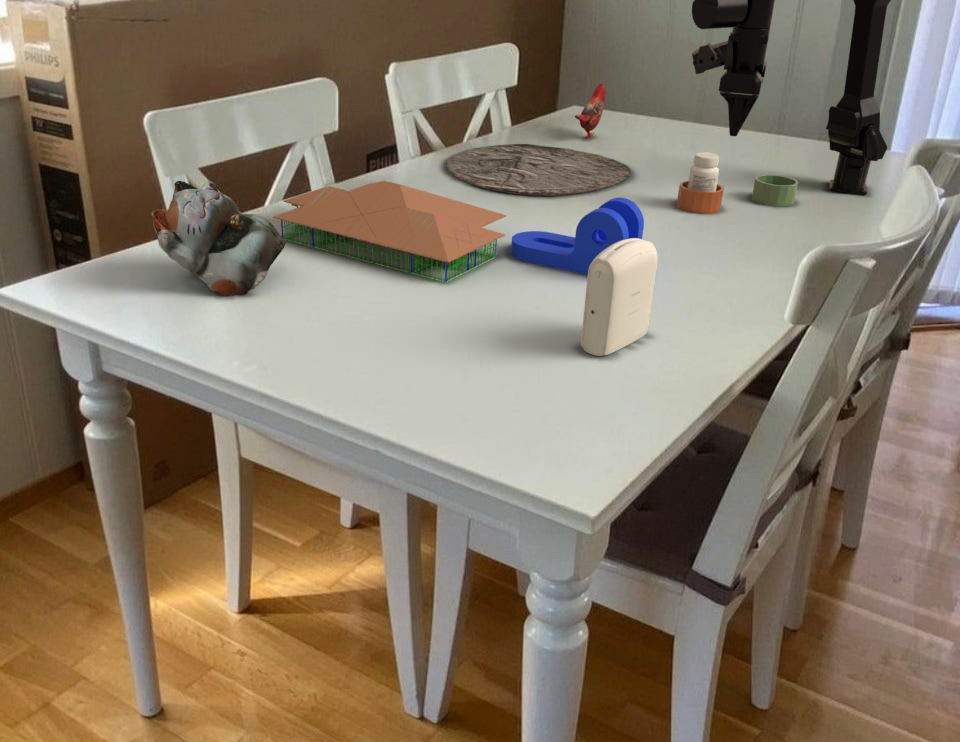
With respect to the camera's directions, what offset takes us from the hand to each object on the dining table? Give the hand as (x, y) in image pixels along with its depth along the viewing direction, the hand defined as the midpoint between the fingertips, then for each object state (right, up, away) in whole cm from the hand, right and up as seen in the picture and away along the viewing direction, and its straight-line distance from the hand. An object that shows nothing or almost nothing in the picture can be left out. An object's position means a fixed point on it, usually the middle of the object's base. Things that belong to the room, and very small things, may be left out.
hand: (735, 129), depth 168 cm
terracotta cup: (-5, -11, +6) cm, 13 cm away
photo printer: (-26, -42, -45) cm, 67 cm away
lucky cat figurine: (-76, -32, -34) cm, 89 cm away
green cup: (+9, -8, +11) cm, 17 cm away
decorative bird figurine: (-20, +14, +44) cm, 50 cm away
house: (-54, -22, -16) cm, 61 cm away
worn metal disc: (-32, 0, +21) cm, 38 cm away
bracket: (-29, -27, -21) cm, 44 cm away
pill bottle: (-5, -11, +6) cm, 13 cm away
